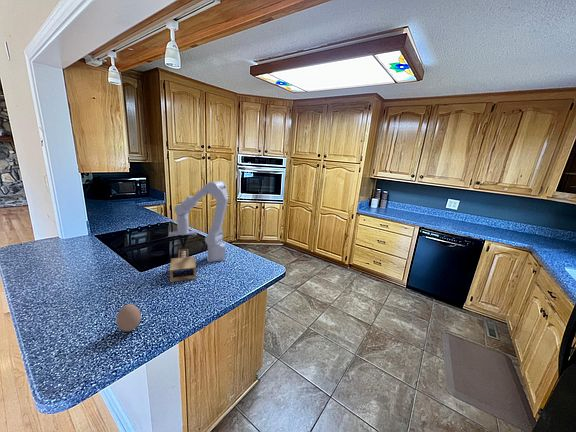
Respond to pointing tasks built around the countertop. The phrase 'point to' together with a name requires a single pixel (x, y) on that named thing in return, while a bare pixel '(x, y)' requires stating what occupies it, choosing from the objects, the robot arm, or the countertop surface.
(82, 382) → the countertop surface
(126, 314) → the egg
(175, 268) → the shelf
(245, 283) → the countertop surface
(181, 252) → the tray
